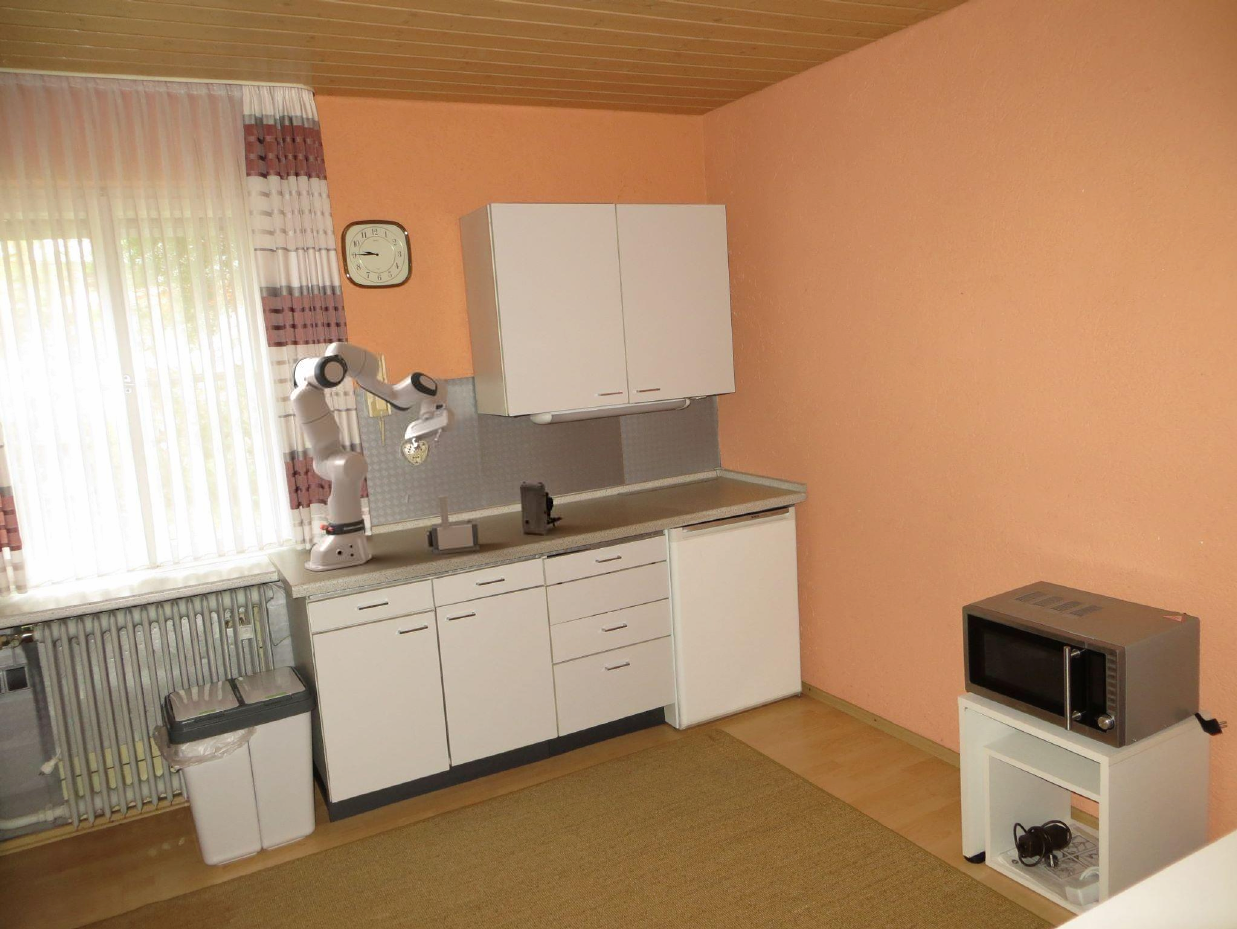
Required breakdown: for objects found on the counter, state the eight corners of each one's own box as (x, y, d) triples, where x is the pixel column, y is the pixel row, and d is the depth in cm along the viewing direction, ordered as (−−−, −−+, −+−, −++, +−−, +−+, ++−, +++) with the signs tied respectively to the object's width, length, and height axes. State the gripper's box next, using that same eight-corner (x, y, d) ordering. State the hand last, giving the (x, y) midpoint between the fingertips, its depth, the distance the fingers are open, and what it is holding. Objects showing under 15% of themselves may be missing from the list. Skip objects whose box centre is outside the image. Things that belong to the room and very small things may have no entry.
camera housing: (429, 555, 316) (426, 527, 314) (429, 549, 325) (426, 522, 324) (479, 549, 319) (477, 522, 317) (478, 543, 328) (476, 517, 327)
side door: (439, 550, 316) (433, 497, 313) (439, 548, 318) (433, 496, 315) (473, 546, 318) (468, 493, 315) (473, 545, 320) (468, 493, 317)
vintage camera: (566, 528, 347) (562, 477, 345) (543, 535, 334) (539, 482, 332) (545, 527, 352) (542, 477, 350) (522, 535, 339) (518, 482, 337)
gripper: (404, 418, 335) (398, 448, 327) (449, 402, 328) (444, 432, 319) (414, 428, 340) (409, 457, 332) (459, 412, 332) (454, 442, 324)
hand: (426, 445), depth 325 cm, fingers open, 8 cm apart
